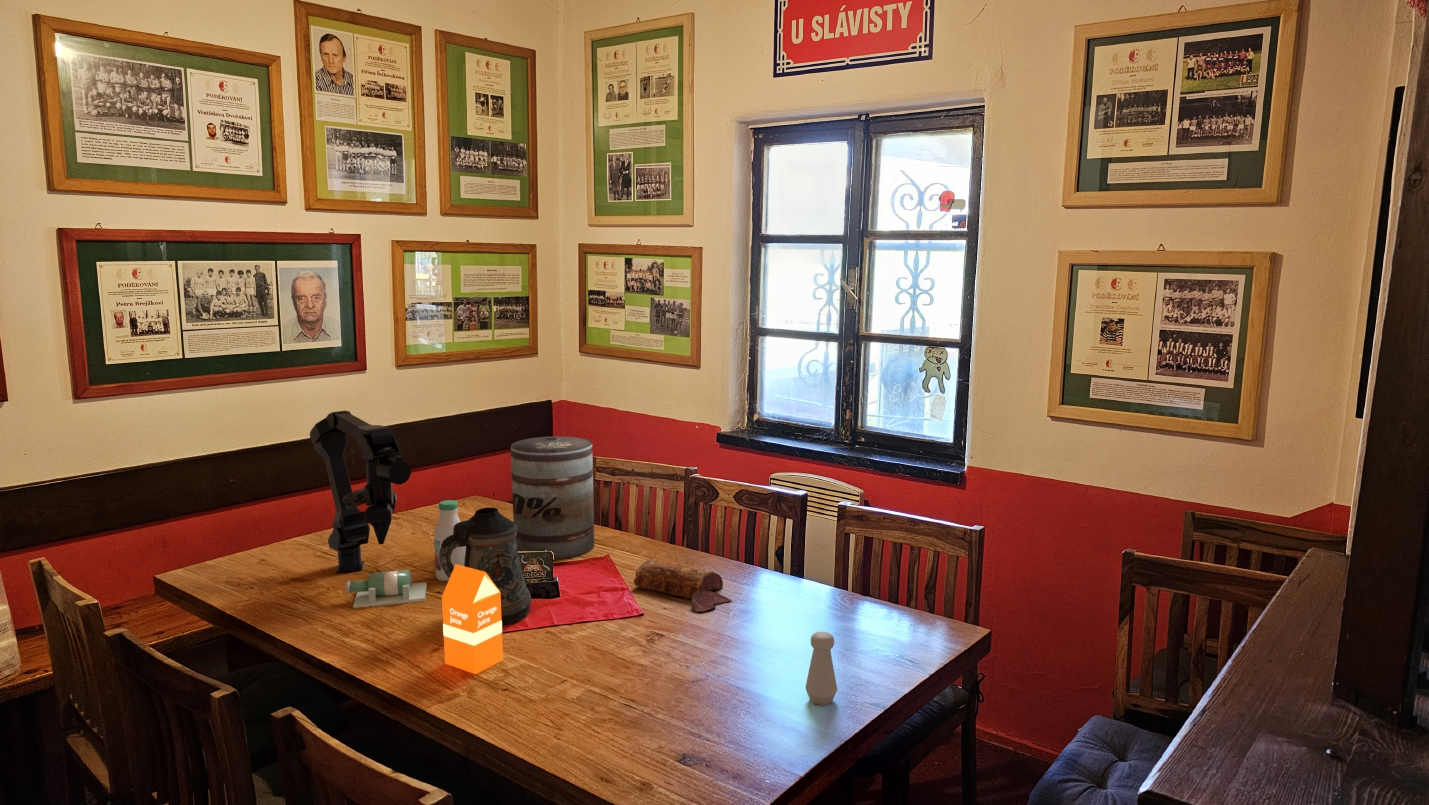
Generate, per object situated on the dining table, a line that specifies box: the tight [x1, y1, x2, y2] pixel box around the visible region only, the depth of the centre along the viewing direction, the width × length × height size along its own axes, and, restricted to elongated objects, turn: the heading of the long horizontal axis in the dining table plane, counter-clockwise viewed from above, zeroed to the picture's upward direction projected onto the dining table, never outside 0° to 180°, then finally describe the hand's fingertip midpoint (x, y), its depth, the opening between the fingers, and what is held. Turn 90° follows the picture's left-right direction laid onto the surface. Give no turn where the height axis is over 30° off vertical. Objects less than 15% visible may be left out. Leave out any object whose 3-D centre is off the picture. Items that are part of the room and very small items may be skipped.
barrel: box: [510, 436, 595, 561], centre depth 249 cm, size 22×22×30 cm
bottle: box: [345, 569, 411, 597], centre depth 213 cm, size 14×6×6 cm, turn 106°
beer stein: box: [439, 507, 532, 627], centre depth 201 cm, size 16×19×25 cm
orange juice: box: [441, 564, 504, 675], centre depth 178 cm, size 8×9×20 cm
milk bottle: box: [433, 499, 466, 582], centre depth 227 cm, size 8×8×20 cm
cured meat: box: [633, 558, 733, 612], centre depth 217 cm, size 18×25×7 cm
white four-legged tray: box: [352, 571, 427, 609], centre depth 215 cm, size 16×11×4 cm
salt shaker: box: [805, 631, 838, 707], centre depth 163 cm, size 6×6×13 cm
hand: (382, 538), depth 221 cm, fingers open, 9 cm apart
